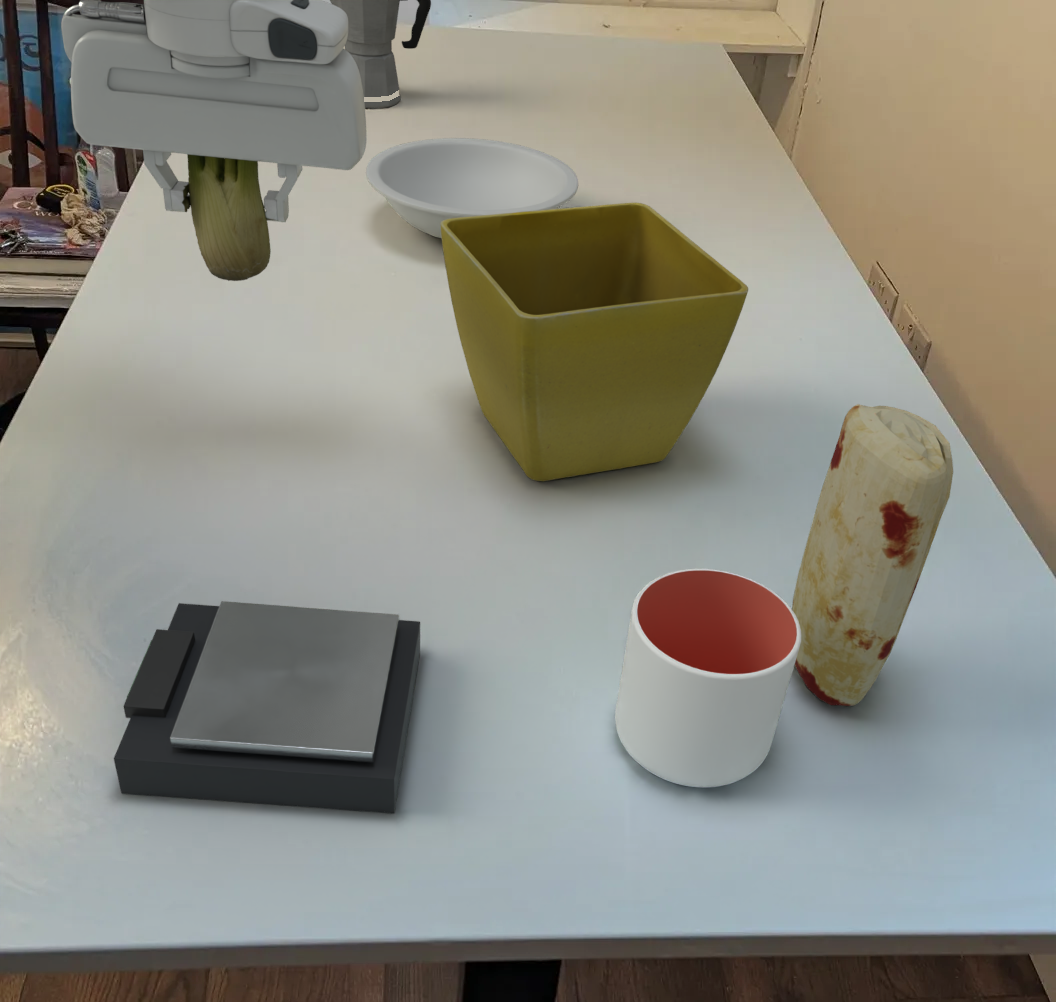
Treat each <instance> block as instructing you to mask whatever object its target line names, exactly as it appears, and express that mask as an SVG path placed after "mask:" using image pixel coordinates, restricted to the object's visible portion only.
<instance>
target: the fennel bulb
mask: <svg viewBox="0 0 1056 1002" xmlns="http://www.w3.org/2000/svg"><path fill="white" fill-rule="evenodd" d="M186 156H187V170H188V172H187V173H188V175H187V176H188V179H187V180H188V181H187V182H188V183H189V193H188V194H189V197H190V211H191V212H190V213H191V218H192V224H193V226H194V231H195V236H196V239H197V245H198V249H199V251H200V255H201V257H202V259H203V261H204V263H205V266H206V267H207V269H208V271H209V272H210V274H211V275H212V276H214V277H216V278H217V279H220V280H222V281H223V280H224V281H228V282H229V281H230V282H241V281H245V280H248V279H251V278H254V277H256V276H258V275H260V274H261V273H262V272H263V271H265V270H266V269H267V267H268V265H269V263H270V259H271V252H272V251H271V249H272V248H271V240H270V239H271V238H270V231H269V225H268V221H267V220H266V218H265V212H266V210H265V208H264V200H263V199H262V198H263V197H262V193H261V186H260V179H259V161H249V160H239V159H229V158H220V157H210V156H200V155H190V154H186Z"/></svg>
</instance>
